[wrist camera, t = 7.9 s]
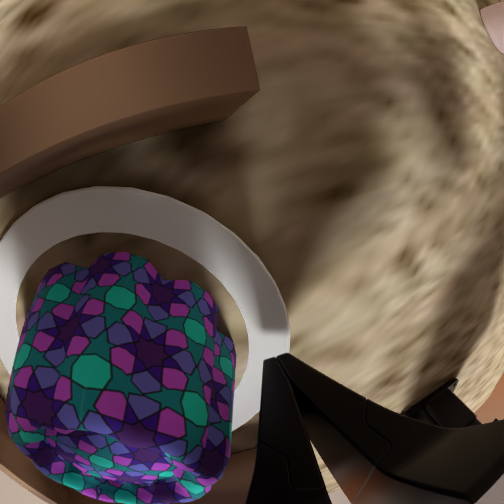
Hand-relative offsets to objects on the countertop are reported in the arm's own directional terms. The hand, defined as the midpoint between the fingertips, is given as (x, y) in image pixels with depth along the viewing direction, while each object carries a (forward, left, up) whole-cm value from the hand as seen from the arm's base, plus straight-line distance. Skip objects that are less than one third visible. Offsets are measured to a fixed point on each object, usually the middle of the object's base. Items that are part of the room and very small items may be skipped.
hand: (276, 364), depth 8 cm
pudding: (+1, +5, -2) cm, 6 cm away
